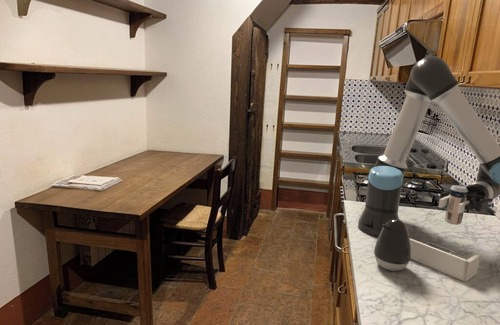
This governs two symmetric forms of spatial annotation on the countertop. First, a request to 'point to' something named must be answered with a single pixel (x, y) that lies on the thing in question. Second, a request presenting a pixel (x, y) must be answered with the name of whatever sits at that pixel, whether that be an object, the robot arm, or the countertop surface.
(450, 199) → the beer can
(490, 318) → the countertop surface
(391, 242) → the black glossy domed part
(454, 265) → the walled box
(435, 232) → the countertop surface
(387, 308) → the countertop surface
